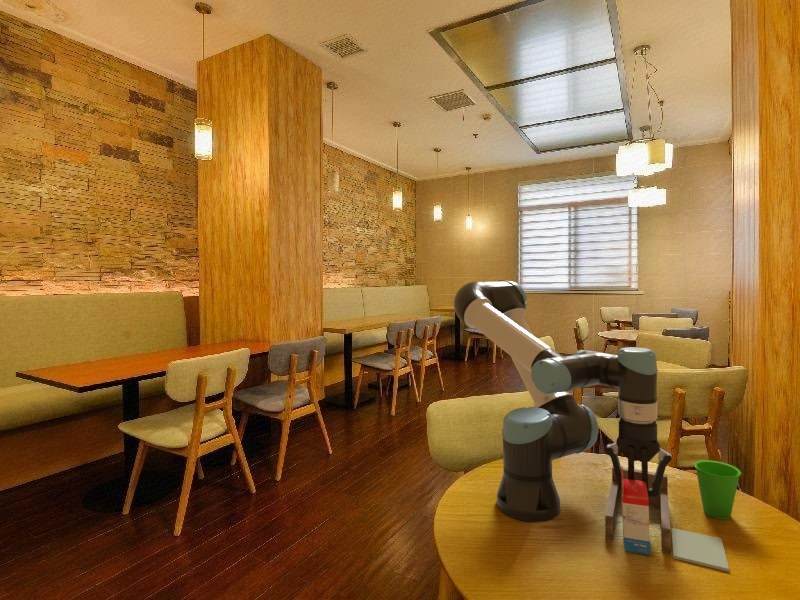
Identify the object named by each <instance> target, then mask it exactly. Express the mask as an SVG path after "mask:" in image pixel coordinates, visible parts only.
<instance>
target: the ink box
mask: <svg viewBox="0 0 800 600" xmlns="http://www.w3.org/2000/svg"><path fill="white" fill-rule="evenodd" d="M621 467H622V468H621V484H622V501H621V514H622V515H621V516H622V517H621V519H622V535H623V545H624V551H626V552H630V553H636V554H641V555H647V556H651V555H652V554H651V536H650V534H651V533H650V531H651V530H650V508H649V507H650V506H649V502H648V492H647V486H646V482H644V481H638V480H630V479H623V467H624V466H623V465H622V466H621Z"/></svg>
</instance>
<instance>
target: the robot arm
mask: <svg viewBox="0 0 800 600" xmlns="http://www.w3.org/2000/svg"><path fill="white" fill-rule="evenodd" d="M453 300H454V301H453V309H454V312H455V315H456V316H457V318H458V319H459V320H460V321H461V322H462V323H463V324H465V326H467V328H469V329H476V330H477V331H479V332H480V333H481V334H483V336H485V337H486V338H488V340H489V341H491V342H493V344H495V345H496V346H498V348H500V349H502V350H503V351H504V352H505V353H506V354H508V355H509V356H510V358H511V360H512V362H513V363H514V366H515V368H516V369H517V372H518V374H519V376H520V378H521V380H522V382H523V383H524V386H525V388H526V389H527V391H528V394H529V395H530V398H531V399H532V401H533V403H534V406H529V407H524V406H523V407H519V408H518V407H517V408H516V409H512V410H511V411H509V412H508V413H506V414H505V416H504V417H503V419H502V429H501V436H502V457H503V458H502V459H503V462H502V463H503V467H502V468H503V469H502V470H503V472H502V473H503V474H502V476H501V480H500V484H499V486H498V489H497V493H496V505H498V506H497V507H499V508H498V509H499V510H500V511H501V512H502V513H503V512H504V514H505V515H506V514H507V516H508V517H510V516H511V517H510V518H513V519H515V518H516V519H515V520H520V521H523V522H529V523H530V522H536V523H537V522H538V523H539V522H546V521H550V520H553V519H554V518H556V517H558V516H559V515H560V512H561V499H560V496H559V493H558V490H557V488H556V485H555V481H554V478H553V461H554V460H557V459H561V458H565V457H568V456H571V455H574V454H581V453H582V452H584V451H587V450H588V449H590V448H592V447H593V446H594V445H595V444H596V442H597V440H598V435H599V432H600V431H599V428H600V427H599V422H598V420H597V417H596V415H595V413H594V411H592V410H591V408H590V407H588V406H585V404H581V403H578V402H577V400H576V398H575V396H574V395H573V394H572V393H571V392H570V393H569V392H567V391H571V390H576V389H581V388H586V387H591V386H597V385H599V386H600V385H601V386H605V387H611V388H614V389H617V394H618V397H617V398H618V403H617V405H618V416H619V417H618V437H617V438H616V440H615V442H613V443H607V444H606V448H605V451H606V453H607V454H608V456H609V457H610V460H611V463H612V466H613V467H614V471H615V475H616V479H617V482H618V486H619V489H620V490H621V491H622V484H621V467H622V466H621V463H620V459H619V454H618V453H619V450H620V451H621V453H622V454H623V455H624V456H625V458H626V459H627V468H628V479H630V480H634V469H635V462H640V463H641V470H642V481H644V482H646V486H647V492H648V498H649V497H650V496H654V497H656V496H658V493H659V489H660V486H661V482H662V479H663V475H664V474H665V471H666V467H667V466H668V465H669V463H670V462H671V461H672V454H671V452H670V451H665V450H664V449H662V447H661V445H660V443H659V442H658V422H657V421H656V420H657V419H658V397H657V396H658V395H657V392H658V391H657V389H658V385H657V383H658V372H659V370H658V366H657V365H658V364H657V363H658V362H657V355H656V352H655V351H654V350H652V349H650V348H647V347H646V348H645V347H635V346H633V347H631V346H630V347H621V348H620V349H619V350H618V352H617V354H613V353H609V352H608V353H606V352H602V351H601V352H599V351H595V350H592V349H590V350H586V349H580V350H578V351H575V352H574V354H572V355H565V356H564V355H562V354H561V353H559V352H558V351H556V350H555V349H553V348H552V347H551V346H550V345H548V344H546V343H544V342H543V341H542V340H541V339H539V338H538V337H537V336H535V335H534V333H533V332H532V330H531V328H530V326H529V324H528V323H527V321H526V316H527V314H528V313H527V305H528V303H527V300H528V298H527V294H526V292H525V290H524V289H523V287H522V286H521V285H519V283H517V282H515V281H512V280H505V279H504V280H503V279H499V280H496V281H495V280H494V281H493V280H491V281H490V280H489V281H488V280H487V281H471V282H467V283H466V284H464V285H462V286H461V287H460V288H459V289H458V290H457V292H456V294H455V295H454V299H453ZM657 454H658V455H657ZM656 455H657V457H658V463H657V467H656V471H655V472H654V473H655V477H654V480H653V484H652V487H651V488H648V472H649V464H648V463H649V462H650V461H652V459H654V457H655V456H656ZM623 479H624V477H623Z"/></svg>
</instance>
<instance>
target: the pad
mask: <svg viewBox="0 0 800 600" xmlns="http://www.w3.org/2000/svg"><path fill="white" fill-rule="evenodd" d="M670 532H671V543H672V558H673V559H675V560H679V561H683V562H687V563H691V564H695V565H700V566H702V567H703V566H704V567H707V568H712V569H715V570H719V571H724V572H727V573H730V566H729V563H728V558H727V555H726V551H725V547H724V543H723V539H722V538H721V537H717V536H710V535H706V534H704V533H703V534H701V533H697V532H694V531H693V532H692V531H689V530H683V529H678V528H674V527H670Z"/></svg>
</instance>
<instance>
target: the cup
mask: <svg viewBox="0 0 800 600" xmlns="http://www.w3.org/2000/svg"><path fill="white" fill-rule="evenodd" d="M693 466H694V468H695V470H696V476H697V482H698V487H699V493H700V499H701V502H702V509H703V511H704V514H706V515H707V516H709V517H711V518H714V519H718V520H729V519H730V518H731V516H732V512H733V507H734V503H735V497H736V493H737V488H738V483H739V478H740V477H741V476H742V472H741V470H740V469H739V468H737V467H736V466H734V465H731V464H729V463H727V462H722V461H717V460H716V461H715V460H708V459H707V460H706V459H704V460H703V459H702V460H697V461H696V462H694V464H693Z"/></svg>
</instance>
